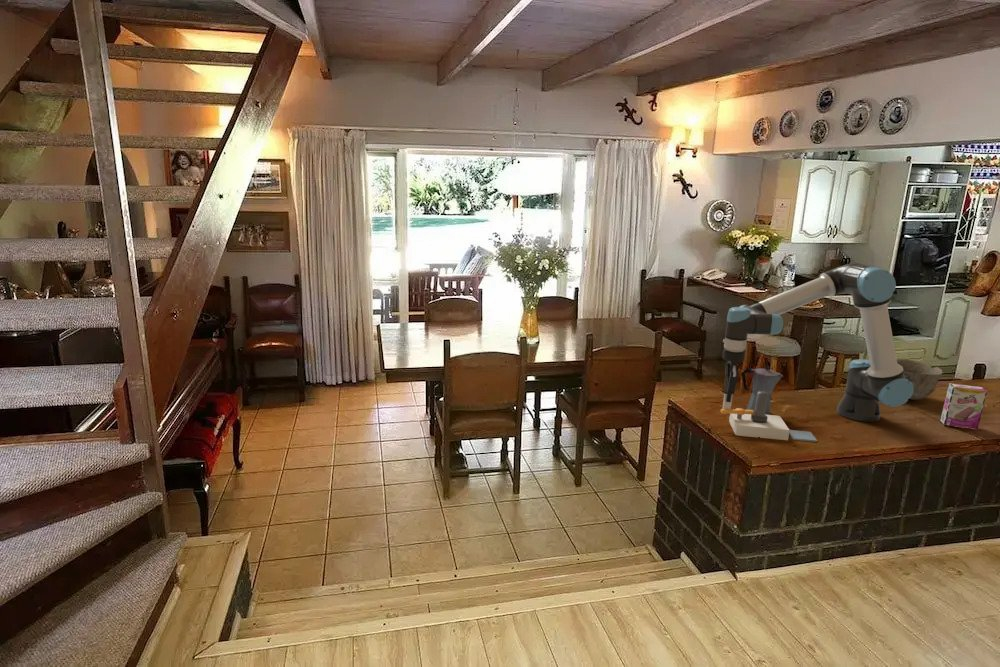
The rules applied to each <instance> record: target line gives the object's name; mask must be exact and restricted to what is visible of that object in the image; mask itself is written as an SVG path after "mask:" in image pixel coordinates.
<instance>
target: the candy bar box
mask: <svg viewBox="0 0 1000 667" xmlns="http://www.w3.org/2000/svg"><path fill="white" fill-rule="evenodd" d="M987 394H988V390H987V389H985V388H984V387H981V386H977V385H965V384H958V383H951V382H950V383H948V387H947V391H946V395H945V400H944V404H943V407H942V412H941V416H940V421H941V422H942V423H943V424H944V425H950V426H959V427H968V428H975V429H977V430H979V429H978V428H979V425H980V421H981V418H982V413H983V410H984V405H985V401H986V398H987ZM940 421H939V422H940ZM941 422H940V423H941ZM942 423H941V424H942ZM943 424H942V425H943ZM944 425H943V426H944Z"/></svg>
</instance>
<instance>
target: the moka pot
mask: <svg viewBox="0 0 1000 667" xmlns="http://www.w3.org/2000/svg"><path fill="white" fill-rule="evenodd" d="M747 373H749V374H750V375H751V374H752V386H751V387H752V390H751V388H749V387H747V386H748V385H747V381H746V380H747V378H746V374H747ZM782 377H783V378H784V375H783V374H781V373H780V372H776V370H773V369H770V365H764V368H749V367H747V368H746V369H744V370H743V371H742V372H741V380H742V384H743V389H744V390H745V391H752V393H751V395H750V398H749V401H748V404H747V407H746V409H745V410H753V411H754V413H755V406H756V398H757V392H758V391H764V392H767V393H768V397H767V404H766V411H765V415H771V414H770V413H771V402H772V400H773V398H772V395H773V392H774V390H775V387H776V385H777V384H778V382H779V381H780V380H781V379H782Z"/></svg>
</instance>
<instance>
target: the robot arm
mask: <svg viewBox="0 0 1000 667" xmlns="http://www.w3.org/2000/svg"><path fill="white" fill-rule="evenodd" d="M896 288H897V283H896V279H895V277H894V275H893V274H892V273H891V272H890V271H889V270H887V269H884V268H882V267H880V266H874V265H873V266H871V265H867V264H863V263H858V262H853V263H847V264H844V265H840V266H837V267H835V268H832V269H830V270H827V271H825V272H823V273H820V274H819V277H817V278H815V279H813V280H809V281H807V282H804V283H802V284H800V285H798V286H795V287H792V288H791V289H788V290H786V291H783V292H780V293H778V294H775V295H773V296H771V297H767V298H766V299H763V300H761V301H759V302H757V303H753V304H750V305H749V304H742V305H740V306H734V307H733V306H732V307H731V308H729V309H728V312H727V316H726V327H725V335H724V339H723V340H722V343H724V344H723V351H722V359H723V360H724V361H727V362H725V373H724V382H723V383H724V384H723V389H724V391H723V402H722V409H732V402H733V395H735V393H736V392H735V391H736V386H737V380H738V377H739V374H740V373H739V372H738V371H739V365H738V363H741V362H743V361H744V360H745V355H746V351H745V350H746V348H747V341H748V336H749V335H766V336H767V335H769V336H773V335H778V334H780V333H781V332H782V331H783V330H784V329H783V327H784V320H783V317H782V316H781V315H782V314H784V313H788V312H791V311H793V310H795V309H798V308H800V307H803V306H805V305H807V304H810V303H813V302H815V301H817V300H820V299H822V298H825V297H835V296H837V295H842V294H843V295H844V294H848V295H850V296H851V297H852V301H853V306H854V308H857V309H859V312H860V317H861V324H862V329H863V334H864V340H865V345H866V350H867V357H868V359H864V358H863V359H861V358H859V359H853V360H851V361H850V363H849V365H848V373H847V379H846V384H845V391H844V395H843V396H842V398H841V400H840V401H839V403H838V405H837V408H836V412H837V414H839V415H840V416H842V417H844V418H847V419H849V420H854V421H858V422H864V423H865V422H867V423H873V422H875V423H876V422H878V421H880V420H881V415H882V414H881V408H880V403H881V404H883V405H886V406H888V407H891V408H895V407H900V406H902V405H904V404H906V403H907V402H908V401H909V400H908V399H909V398H911V396H912V394H913V385H912V383H911V382H910V381H909V380H908V379H905V376H904V370H903V367H902V366H901V365H899V364H897V359H898V358H897V353H896V349H895V343H894V342H895V341H894V337H893V331H892V326H891V325H892V324H891V321H890V314H889V313H890V312H889V309H888V305H889V304H890V303H891V301H892V296H893V295H894V292H895V291H896Z"/></svg>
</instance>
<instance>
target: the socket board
mask: <svg viewBox="0 0 1000 667" xmlns="http://www.w3.org/2000/svg"><path fill="white" fill-rule="evenodd" d="M766 416H767V417H768V418H767V422H764V423H758V422H753V420H751V414H744V415H739V414H729V419H728V422H729V424H730V426H731V429H732V431H733V432H734V435H735V436H739V437H749V438H750V437H751V438H758V437H760V439H770V440H780V441H781V440H782V441H789V438H790V437H789V436H790V434H789V431H790V430H791V429H790V428H789V427H788V426H787V424H786V423H785V421H784V420H783V418H782V417H781V416H780V415H775V414H774V415H773V414H769V415H766Z"/></svg>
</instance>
